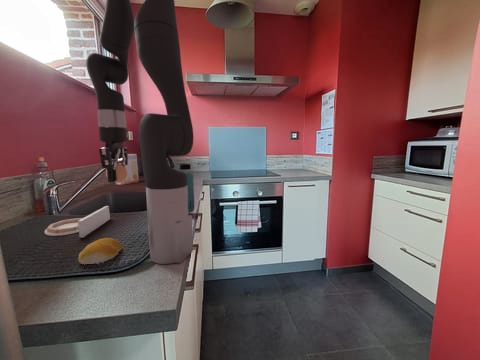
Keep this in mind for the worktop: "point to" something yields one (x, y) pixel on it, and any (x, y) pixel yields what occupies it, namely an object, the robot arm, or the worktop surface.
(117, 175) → the ball
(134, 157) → the cracker box
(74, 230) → the saucer
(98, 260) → the bread roll
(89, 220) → the wall
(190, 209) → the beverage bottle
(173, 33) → the robot arm
